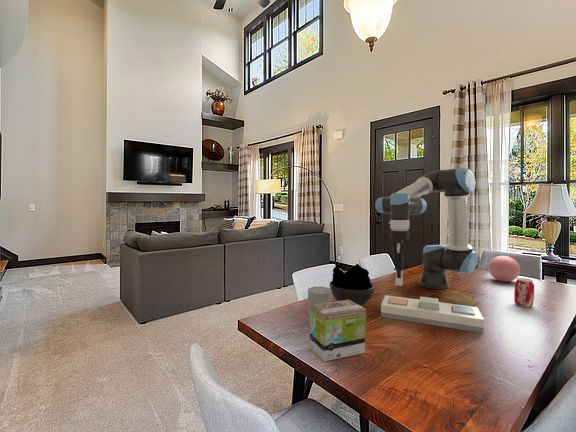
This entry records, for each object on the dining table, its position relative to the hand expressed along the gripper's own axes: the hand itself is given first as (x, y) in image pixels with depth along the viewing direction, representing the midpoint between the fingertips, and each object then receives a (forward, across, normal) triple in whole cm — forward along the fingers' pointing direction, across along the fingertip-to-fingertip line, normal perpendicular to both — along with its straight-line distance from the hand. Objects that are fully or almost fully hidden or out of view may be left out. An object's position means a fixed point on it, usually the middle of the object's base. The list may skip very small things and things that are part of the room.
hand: (398, 284), depth 128 cm
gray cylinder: (+12, +22, -28) cm, 38 cm away
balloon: (+15, -82, +54) cm, 99 cm away
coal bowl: (+12, 0, -20) cm, 24 cm away
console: (+12, +1, +12) cm, 17 cm away
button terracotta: (+10, +1, 0) cm, 10 cm away
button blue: (+10, +1, +24) cm, 26 cm away
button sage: (+8, +1, +12) cm, 14 cm away
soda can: (+14, -34, +52) cm, 64 cm away
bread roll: (+13, -17, +24) cm, 32 cm away
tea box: (+12, +43, -15) cm, 47 cm away
